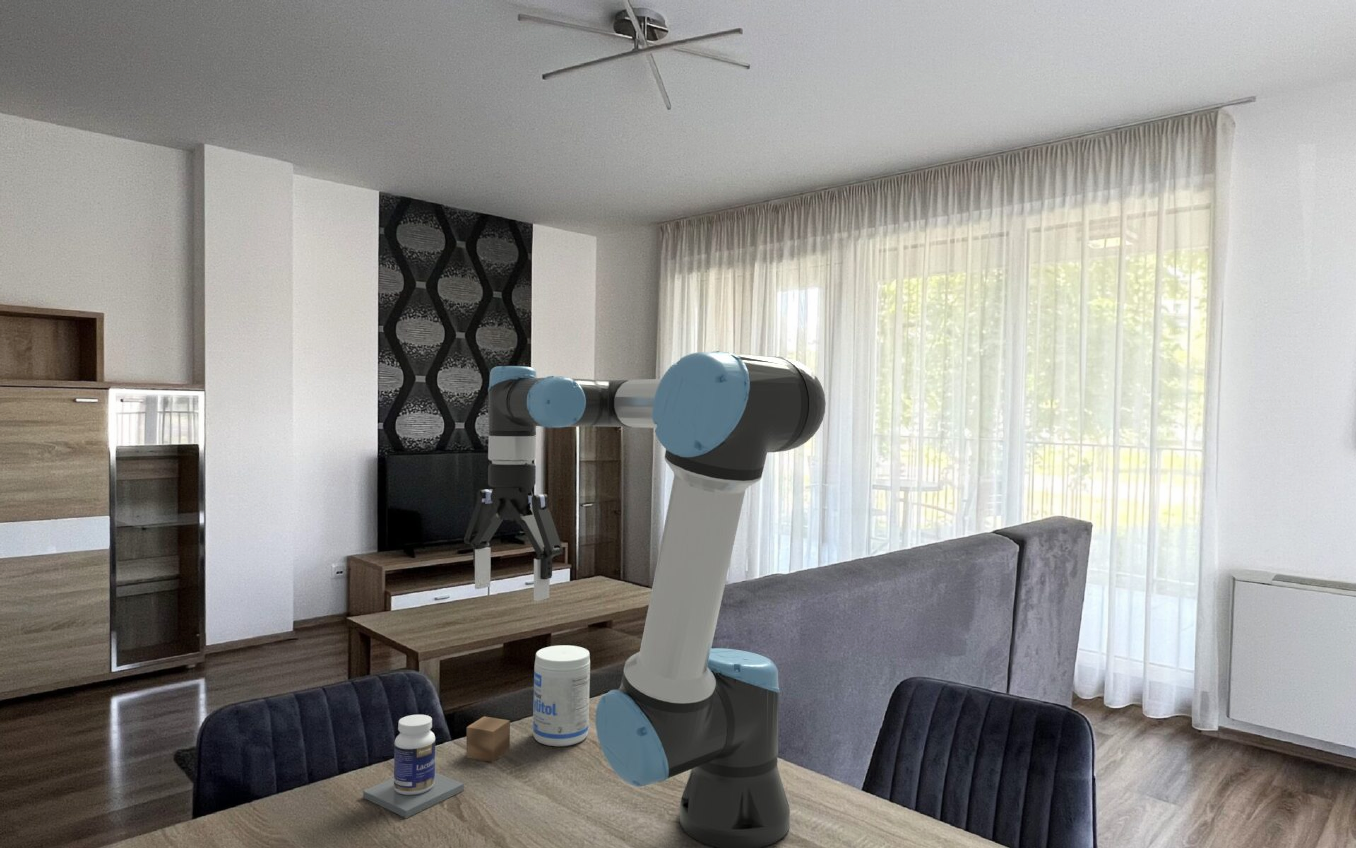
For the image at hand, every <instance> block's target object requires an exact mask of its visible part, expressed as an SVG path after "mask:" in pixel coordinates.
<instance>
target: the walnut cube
mask: <svg viewBox="0 0 1356 848" xmlns="http://www.w3.org/2000/svg"><path fill="white" fill-rule="evenodd" d="M510 747H511V720H508V719H504V718H503V719H502V718H496V717H489V716H486V715H484V716H482V717H481V718H479V719H478V720H476V721H474V722H473V723H471V724H469V725H468V726H467V727H466V751H465V752H466V758H468V759H473V760H479V761H485V762H491V763H494V762H496V761H497V760H498V759H500V758H501V757H503V755H505V754H507V753H508V752H509V751H510V750H511V749H510Z"/></svg>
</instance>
